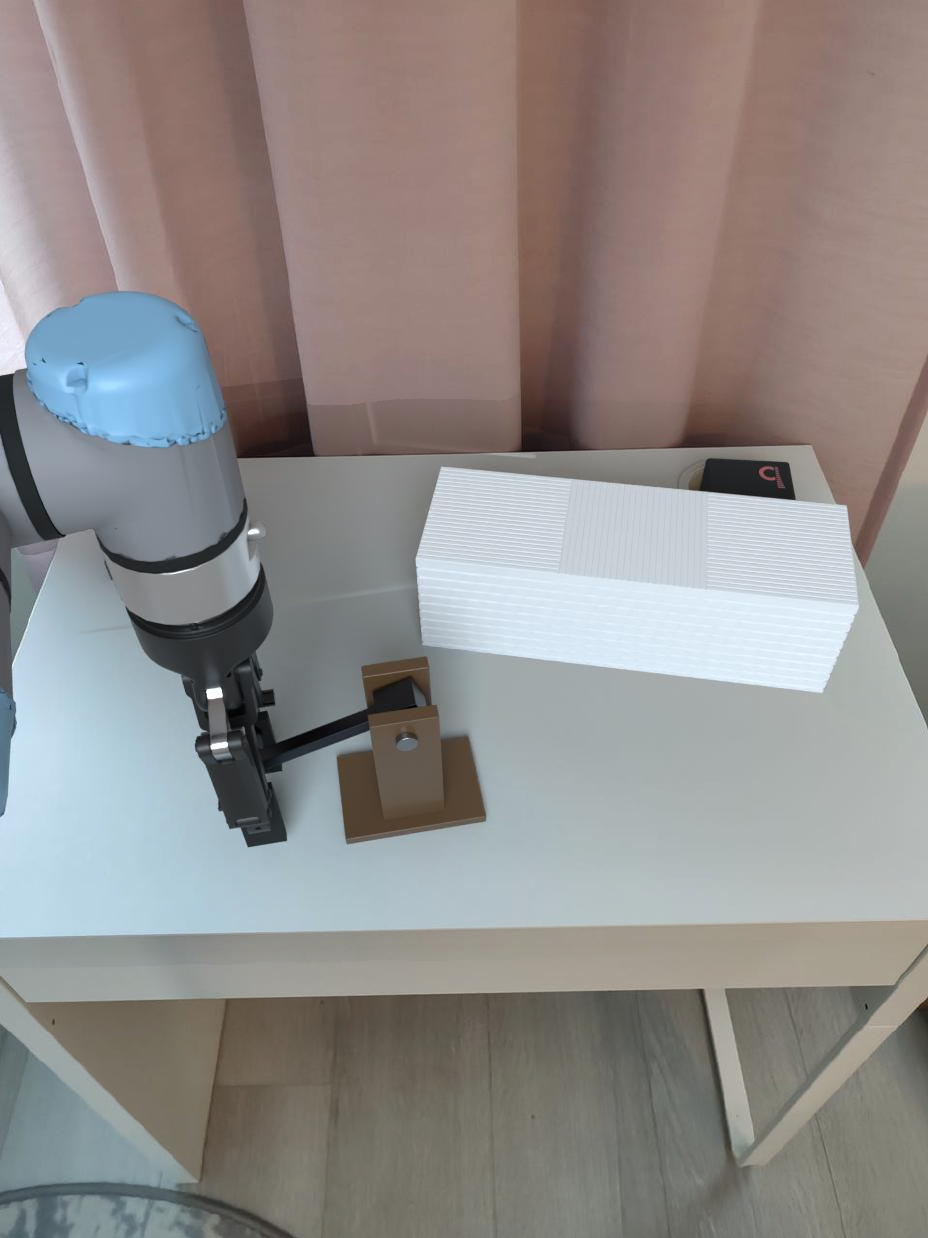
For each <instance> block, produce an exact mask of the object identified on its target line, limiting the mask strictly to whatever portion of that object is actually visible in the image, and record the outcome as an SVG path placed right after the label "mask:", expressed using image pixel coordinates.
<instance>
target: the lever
mask: <svg viewBox="0 0 928 1238" xmlns="http://www.w3.org/2000/svg"><path fill="white" fill-rule="evenodd" d="M372 694H373V700H374V706H372V707H370V708H367V707H366V708H365V709H361V710H360V711H357V712H354V713H352V714H349V715H346V716H344V717H341V718H338V719H336V720H333V721H330V722H328V723H325V724H322V725H320V726H318V727H317V726H316V727H315V728H313V729H309V730H307V731H305V732H302V733H299V734H297V735H294V736H291V737H288V738H286V739H283V740H281V741H278V742H276V743H275V744H273V745H270V746H267V747H265V748H263V740H262V731H261V730H260V729H259V728H257V727H254V728H255V733H256V737H257V741H258V745H259V750H260V754H261V758H262V762H263V767H264V770H266V769H268V768H271V767H274V766H276V765H279V764H282V765H283V764H284V763H286V762H290V761H292V760H295V759H298V758H300V757H303V756H306V755H308V754H311V753H314V752H316V751H320V750H321V749H324V748H326V747H329V746H332V745H335V744H338V743H340V742H343V741H345V740H348V739H351V738H354V737H356V736H359V735H361V734H364V733H366V732H370V728H369V721H368V715H371V714H377V713H384V712H390V711H397V710H403V709H410V708H416V707H423V706H427V705H426V700H425V696H424V694H423V693H422V692H421V690H420V689H419V688H418V686H417V685H416V684H415V682H414V681H413V680H412V678H408V679H405V680H403V681H400V682H398V683H395V684H392V685H390V686H387V687H385V688H382V689H379V690H377V691H374V692H372Z"/></svg>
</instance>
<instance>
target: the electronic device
mask: <svg viewBox="0 0 928 1238" xmlns="http://www.w3.org/2000/svg"><path fill="white" fill-rule="evenodd" d="M793 481H794V480H793V476H792V471H791V465H790V463H789V462H788V461H777V460H776V461H774V460H755V459H736V458H735V459H733V458H715V457H714V458H713V457H710V458H709V457H708V458H707V459H706V460H705V463H704V467H703V471H702V477H701V481H700V487H699V490H698V491H704V492H714V493H724V494H735V495H745V496H756V497H766V498H776V499H787V500H797V499H796V493H795V487H794V483H793Z"/></svg>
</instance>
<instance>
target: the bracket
mask: <svg viewBox="0 0 928 1238" xmlns="http://www.w3.org/2000/svg"><path fill="white" fill-rule="evenodd" d="M360 670H361V677H362V684H363V691H364V698H365V704H366V709H367V708H370V707H372V706H374V700H373V694H372V692H374V691H377V690H379V689H382V688H385V687H387V686H390V685H392V684H395V683H398V682H400V681H403V680H405V679H408V678H412V680H413V681H414V682H415V684H416V685H417V686H418V688H419V689H420V690H421V692H422V693H423V694H424V696H425V700H426V705H427V706H423V707H416V708H410V709H403V710H397V711H390V712H384V713H377V714H371V715H368V721H369V728H370V730H369V734H370V741H371V747H372V751H366V752H359V753H353V754H345V755H340V756H336V764H337V765H336V766H337V774H338V782H339V793H340V801H341V810H342V811H341V812H342V819H343V829H344V837H345V843H346V845H352V844H358V843H365V842H370V841H371V842H372V841H377V840H382V839H389V838H394V837H401V836H407V835H412V834H418V833H425V832H431V831H435V830H442V829H448V828H449V829H450V828H454V827H460V826H461V827H462V826H467V825H472V824H473V825H474V824H477V823H484V822H486V821H487V815H486V810H485V806H484V801H483V795H482V792H481V786H480V782H479V777H478V773H477V768H476V764H475V760H474V754H473V750H472V745H471V741H470V737H469V736H468V735H467V736H460V737H455V738H448V739H441V738H442V737H441V724H440V723H441V722H440V714H439V708H438V705H437V704H433V700H432V685H431V669H430V663H429V658H428V656H425V655H424V656H418V657H413V658H406V659H399V660H392V661H385V662H379V663H371V664H366V665H365V664H364V665H361V666H360Z"/></svg>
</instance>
